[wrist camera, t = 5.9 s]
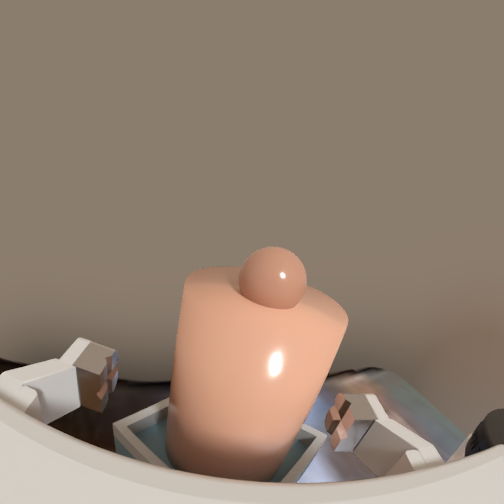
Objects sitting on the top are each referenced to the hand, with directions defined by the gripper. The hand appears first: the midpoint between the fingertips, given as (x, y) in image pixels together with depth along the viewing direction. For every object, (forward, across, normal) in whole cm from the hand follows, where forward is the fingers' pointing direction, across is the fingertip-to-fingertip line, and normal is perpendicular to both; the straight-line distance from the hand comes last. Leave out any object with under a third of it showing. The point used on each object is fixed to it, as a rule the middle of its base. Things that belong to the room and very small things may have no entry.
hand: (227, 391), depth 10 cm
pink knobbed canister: (+2, +1, -6) cm, 6 cm away
